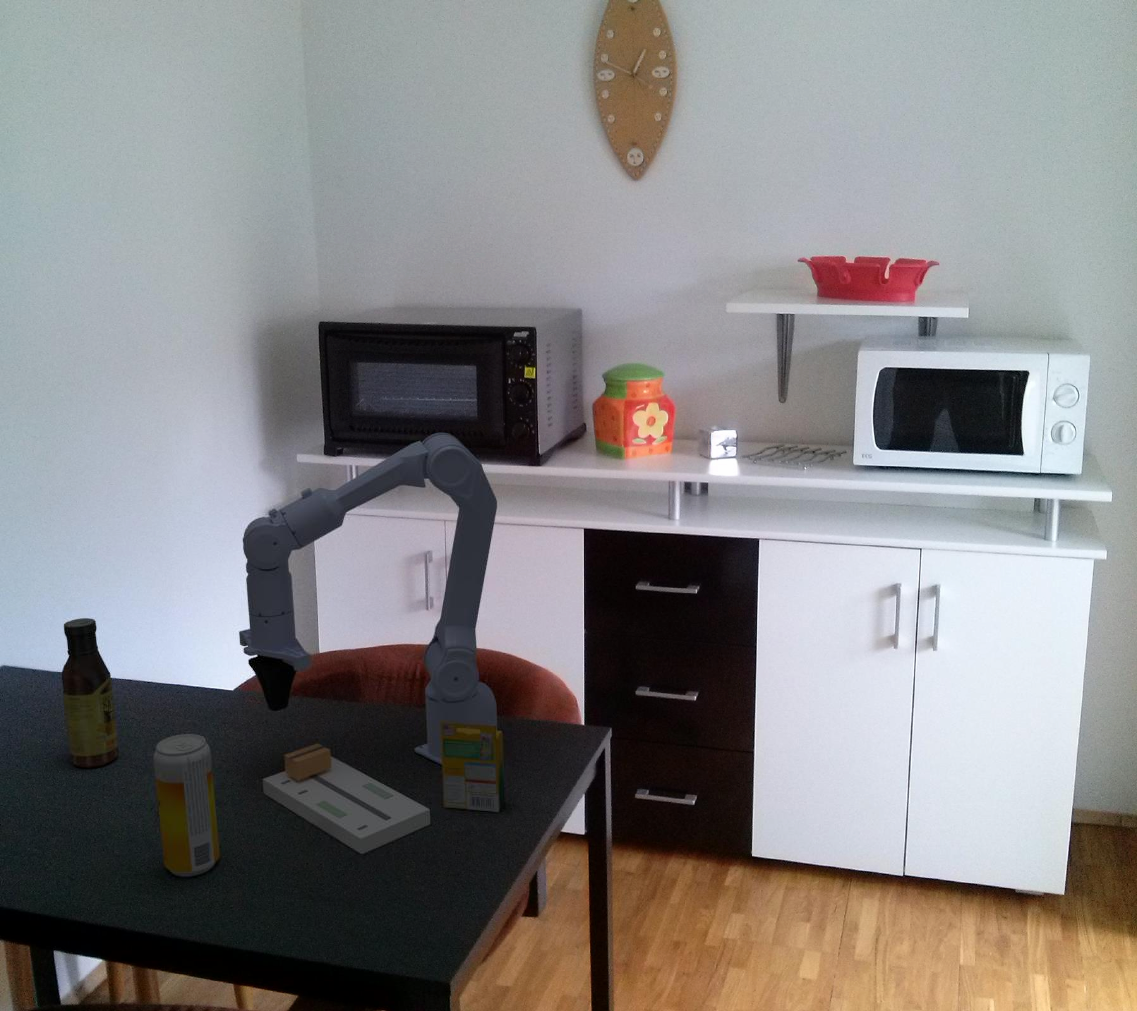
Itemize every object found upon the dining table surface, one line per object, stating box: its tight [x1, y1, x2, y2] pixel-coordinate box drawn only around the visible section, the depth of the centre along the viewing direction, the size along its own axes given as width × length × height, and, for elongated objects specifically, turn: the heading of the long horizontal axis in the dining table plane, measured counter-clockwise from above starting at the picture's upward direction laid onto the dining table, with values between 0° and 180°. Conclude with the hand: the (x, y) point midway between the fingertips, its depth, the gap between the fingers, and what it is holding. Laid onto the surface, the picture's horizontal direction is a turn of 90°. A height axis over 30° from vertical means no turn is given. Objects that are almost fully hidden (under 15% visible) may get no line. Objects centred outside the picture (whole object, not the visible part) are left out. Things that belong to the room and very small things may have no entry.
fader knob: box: [283, 743, 332, 780], centre depth 154 cm, size 5×3×3 cm, turn 134°
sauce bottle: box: [61, 617, 119, 768], centre depth 162 cm, size 6×6×20 cm
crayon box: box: [441, 722, 506, 813], centre depth 148 cm, size 7×3×12 cm, turn 78°
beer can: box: [153, 733, 220, 877], centre depth 135 cm, size 6×6×15 cm
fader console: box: [262, 756, 431, 855], centre depth 149 cm, size 10×22×2 cm, turn 44°
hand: (278, 708), depth 157 cm, fingers closed
